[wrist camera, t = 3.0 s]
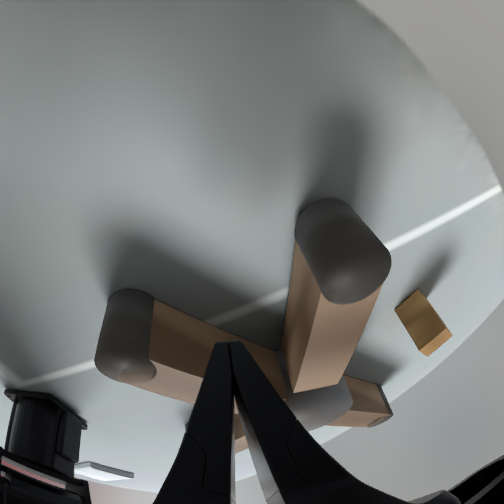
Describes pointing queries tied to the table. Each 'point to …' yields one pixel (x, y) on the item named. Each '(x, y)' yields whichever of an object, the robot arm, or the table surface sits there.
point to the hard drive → (101, 472)
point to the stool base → (271, 362)
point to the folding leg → (330, 292)
